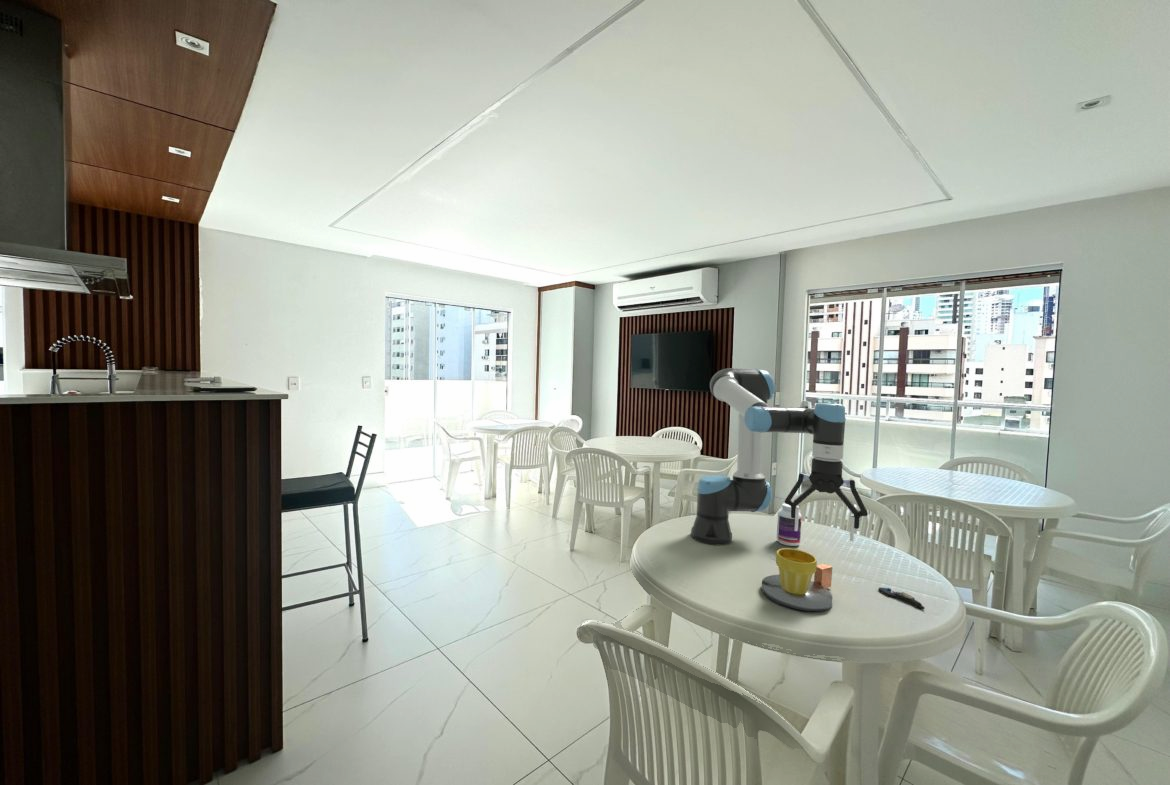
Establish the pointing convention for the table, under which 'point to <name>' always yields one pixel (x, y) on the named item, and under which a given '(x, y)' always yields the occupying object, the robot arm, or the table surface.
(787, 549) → the plant pot
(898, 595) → the micrometer
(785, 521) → the pill bottle
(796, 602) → the grey round piece
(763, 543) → the table surface
